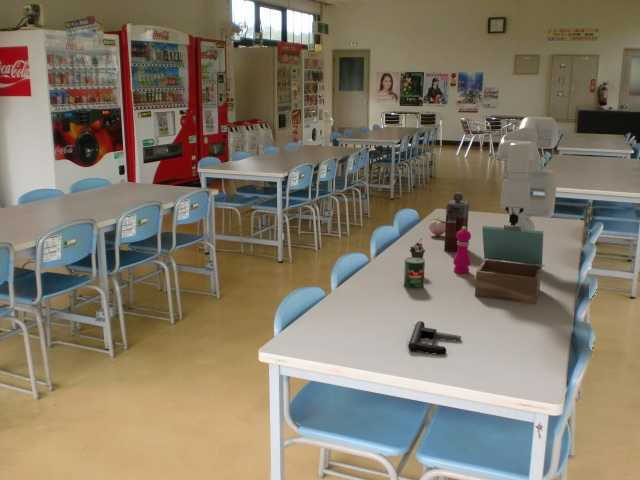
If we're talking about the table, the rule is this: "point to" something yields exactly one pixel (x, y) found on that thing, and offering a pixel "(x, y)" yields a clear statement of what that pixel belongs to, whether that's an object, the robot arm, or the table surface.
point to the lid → (513, 244)
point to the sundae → (417, 250)
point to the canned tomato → (414, 273)
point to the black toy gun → (430, 334)
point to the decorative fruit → (437, 227)
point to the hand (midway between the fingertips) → (513, 224)
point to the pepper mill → (462, 252)
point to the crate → (508, 281)
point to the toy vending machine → (455, 221)
